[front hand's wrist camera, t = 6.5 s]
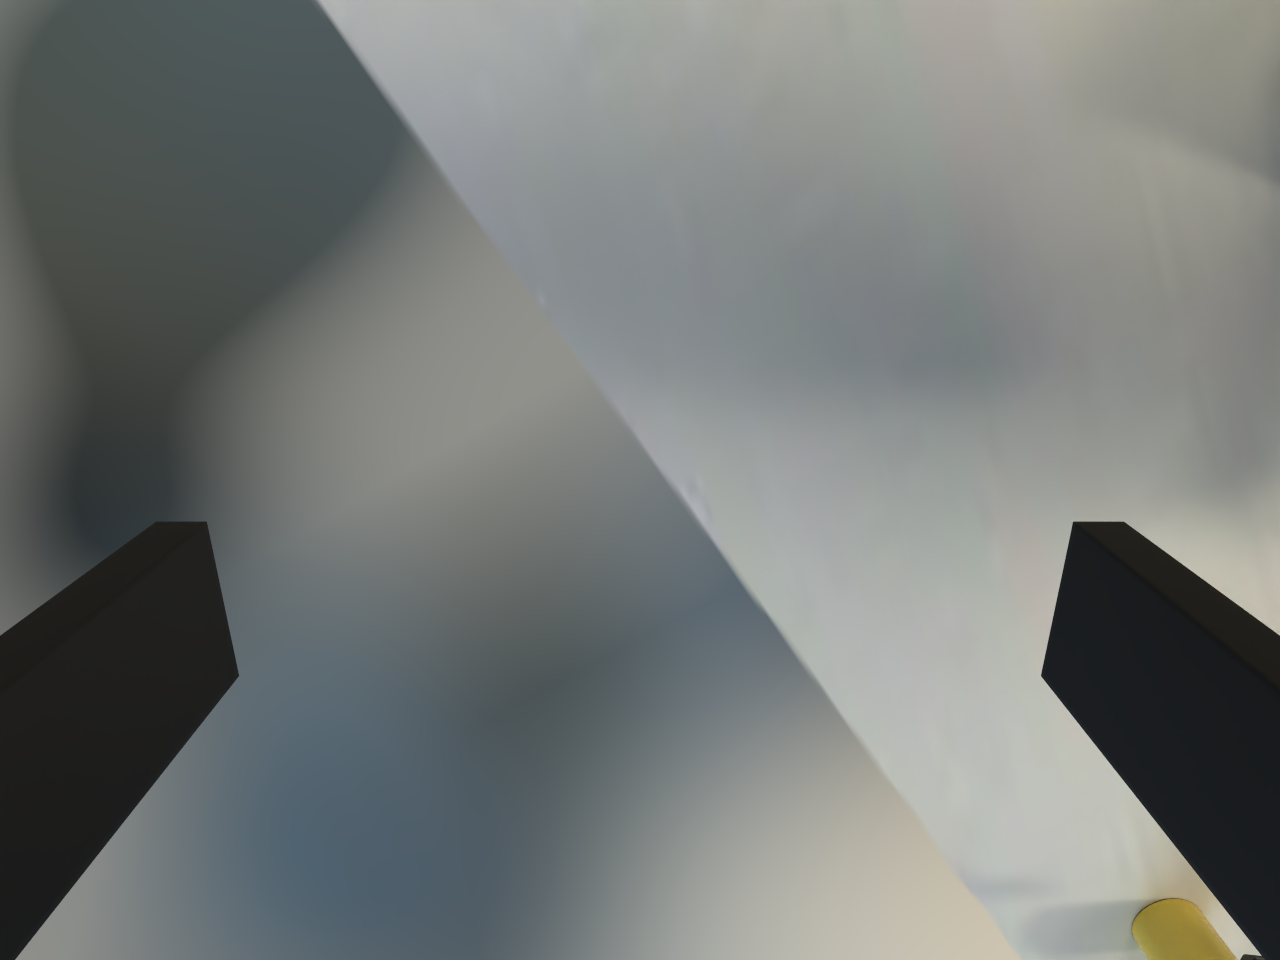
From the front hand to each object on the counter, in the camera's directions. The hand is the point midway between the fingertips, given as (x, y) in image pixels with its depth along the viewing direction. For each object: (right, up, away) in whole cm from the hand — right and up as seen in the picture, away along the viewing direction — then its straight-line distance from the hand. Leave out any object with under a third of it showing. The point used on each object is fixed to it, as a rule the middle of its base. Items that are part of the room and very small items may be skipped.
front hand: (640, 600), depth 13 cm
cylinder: (+40, -32, +49) cm, 71 cm away
